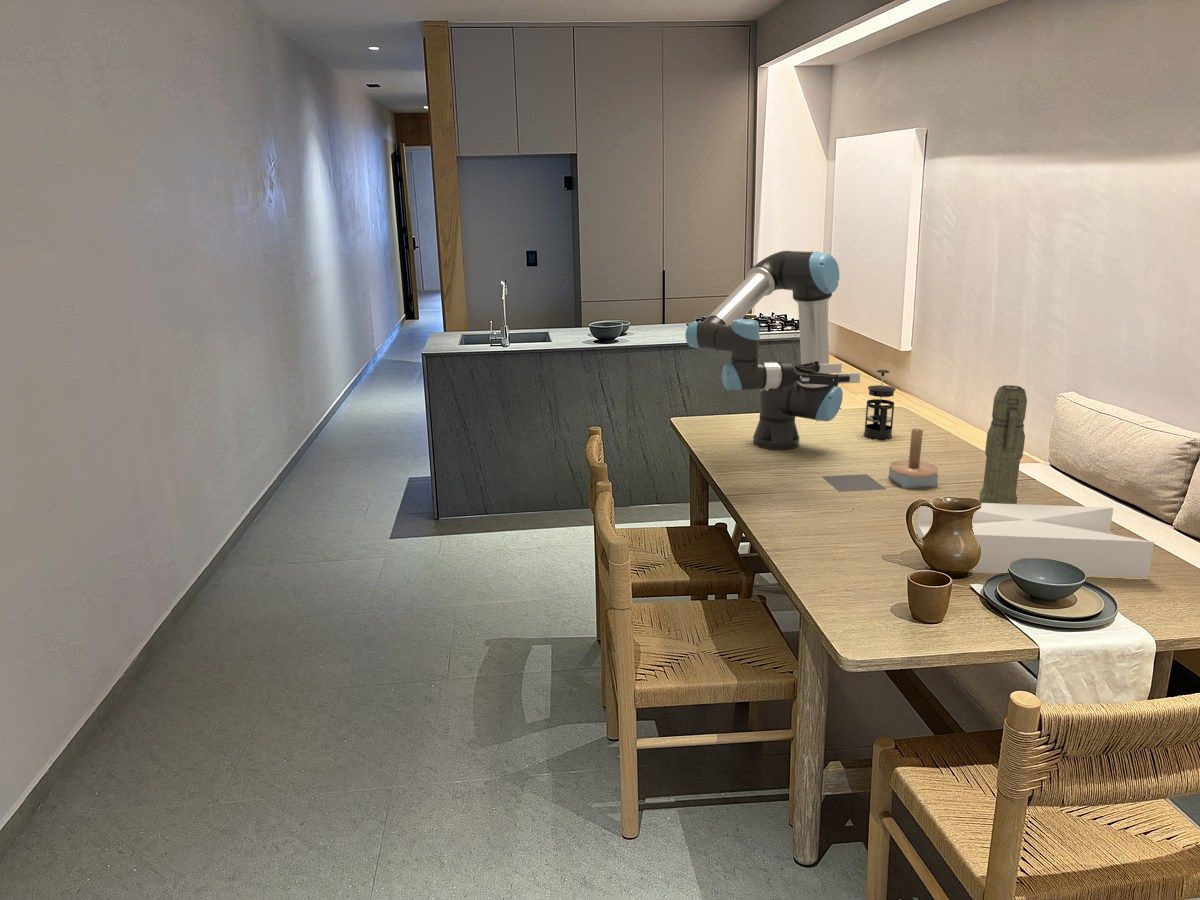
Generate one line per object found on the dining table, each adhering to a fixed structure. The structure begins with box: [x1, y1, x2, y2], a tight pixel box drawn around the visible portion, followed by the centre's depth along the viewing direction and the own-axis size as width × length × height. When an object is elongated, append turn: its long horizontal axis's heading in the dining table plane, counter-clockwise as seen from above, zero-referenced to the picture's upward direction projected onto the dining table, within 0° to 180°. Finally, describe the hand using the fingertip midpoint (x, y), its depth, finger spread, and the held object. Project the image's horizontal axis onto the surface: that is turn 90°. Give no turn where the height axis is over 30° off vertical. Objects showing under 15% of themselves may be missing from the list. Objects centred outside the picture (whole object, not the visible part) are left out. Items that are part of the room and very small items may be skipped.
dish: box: [888, 466, 939, 490], centre depth 267 cm, size 10×10×4 cm
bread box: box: [915, 503, 1155, 579], centre depth 215 cm, size 45×22×10 cm, turn 83°
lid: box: [889, 428, 939, 477], centre depth 264 cm, size 13×13×12 cm
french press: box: [863, 369, 896, 441], centre depth 312 cm, size 12×9×23 cm
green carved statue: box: [978, 384, 1028, 504], centre depth 234 cm, size 9×12×35 cm
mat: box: [821, 473, 887, 493], centre depth 267 cm, size 14×14×1 cm
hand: (850, 372), depth 262 cm, fingers open, 13 cm apart
